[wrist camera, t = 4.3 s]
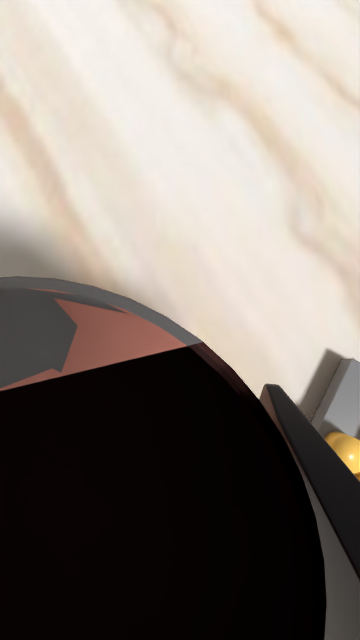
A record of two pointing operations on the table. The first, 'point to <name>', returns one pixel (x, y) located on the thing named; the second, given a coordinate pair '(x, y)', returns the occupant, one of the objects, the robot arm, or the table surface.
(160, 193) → the table surface
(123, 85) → the table surface
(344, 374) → the breaker panel
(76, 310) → the reddish brown cylinder
